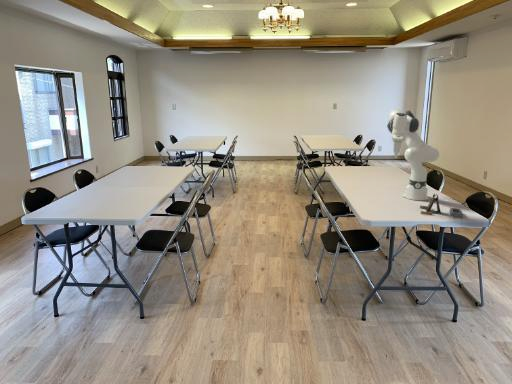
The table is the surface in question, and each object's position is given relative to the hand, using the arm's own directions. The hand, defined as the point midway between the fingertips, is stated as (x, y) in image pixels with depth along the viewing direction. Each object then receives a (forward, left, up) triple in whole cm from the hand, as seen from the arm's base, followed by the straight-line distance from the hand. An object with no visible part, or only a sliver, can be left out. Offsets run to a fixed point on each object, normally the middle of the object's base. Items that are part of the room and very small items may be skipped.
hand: (395, 157), depth 262 cm
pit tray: (+4, +42, -34) cm, 54 cm away
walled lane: (+4, +23, -34) cm, 42 cm away
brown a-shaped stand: (+3, +28, -34) cm, 45 cm away
